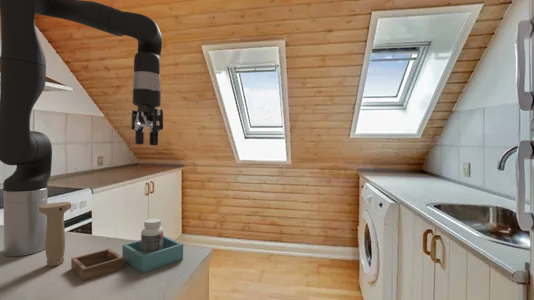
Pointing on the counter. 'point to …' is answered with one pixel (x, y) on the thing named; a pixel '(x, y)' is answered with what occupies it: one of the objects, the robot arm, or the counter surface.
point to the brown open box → (96, 270)
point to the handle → (55, 231)
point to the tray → (152, 255)
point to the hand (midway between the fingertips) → (146, 144)
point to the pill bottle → (151, 236)
